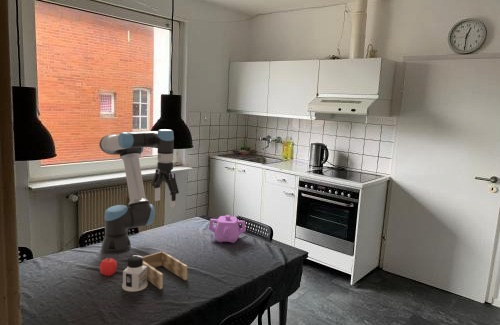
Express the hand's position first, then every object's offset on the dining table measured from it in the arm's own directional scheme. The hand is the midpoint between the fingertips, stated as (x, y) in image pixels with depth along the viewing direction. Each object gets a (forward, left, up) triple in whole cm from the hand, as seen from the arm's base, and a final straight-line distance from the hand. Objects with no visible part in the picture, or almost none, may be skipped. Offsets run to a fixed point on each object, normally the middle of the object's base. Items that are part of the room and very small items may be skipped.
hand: (164, 203), depth 187 cm
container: (+11, -22, -31) cm, 40 cm away
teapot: (-5, +47, -32) cm, 57 cm away
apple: (-7, -26, -32) cm, 42 cm away
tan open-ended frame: (+11, -8, -32) cm, 34 cm away
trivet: (+11, -22, -32) cm, 40 cm away
